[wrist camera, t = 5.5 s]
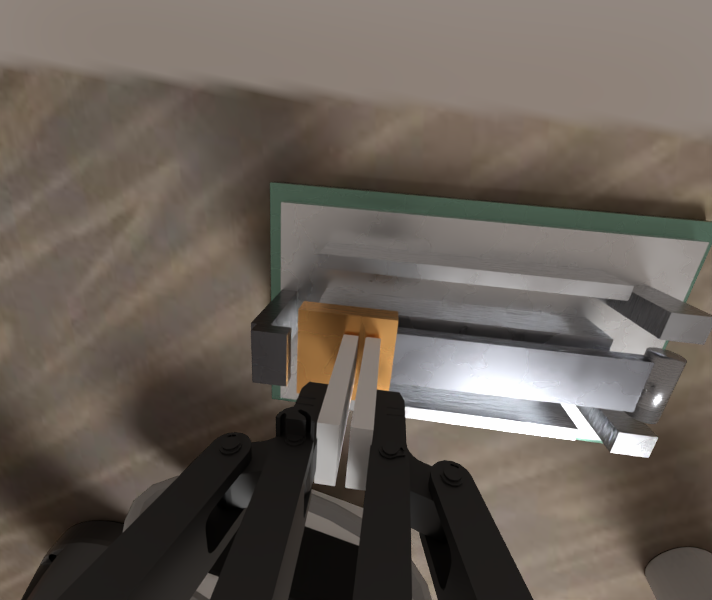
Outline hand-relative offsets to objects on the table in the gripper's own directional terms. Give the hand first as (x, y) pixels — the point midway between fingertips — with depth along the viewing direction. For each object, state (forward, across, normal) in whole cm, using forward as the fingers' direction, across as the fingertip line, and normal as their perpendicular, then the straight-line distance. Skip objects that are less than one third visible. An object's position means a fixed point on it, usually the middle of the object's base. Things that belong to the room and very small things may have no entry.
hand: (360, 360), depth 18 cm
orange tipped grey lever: (+2, +6, 0) cm, 7 cm away
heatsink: (+7, +6, 0) cm, 10 cm away
